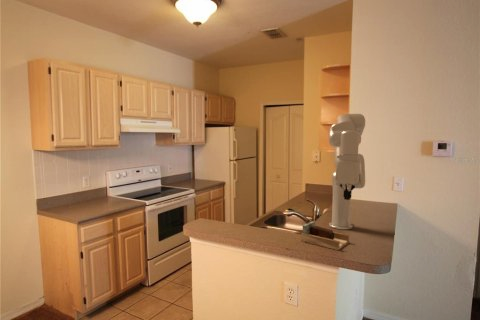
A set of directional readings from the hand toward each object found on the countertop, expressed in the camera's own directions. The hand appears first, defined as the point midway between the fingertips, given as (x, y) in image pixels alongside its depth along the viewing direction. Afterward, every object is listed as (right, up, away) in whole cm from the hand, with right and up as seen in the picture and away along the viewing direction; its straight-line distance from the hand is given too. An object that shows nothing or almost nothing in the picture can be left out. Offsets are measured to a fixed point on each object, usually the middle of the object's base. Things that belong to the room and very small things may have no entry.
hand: (347, 199), depth 131 cm
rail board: (-8, -21, +7) cm, 24 cm away
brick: (-9, -20, +9) cm, 24 cm away
